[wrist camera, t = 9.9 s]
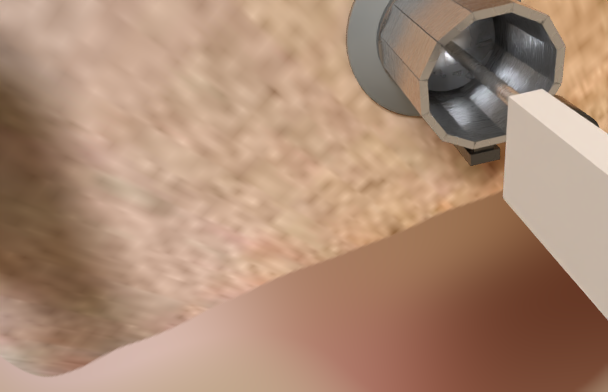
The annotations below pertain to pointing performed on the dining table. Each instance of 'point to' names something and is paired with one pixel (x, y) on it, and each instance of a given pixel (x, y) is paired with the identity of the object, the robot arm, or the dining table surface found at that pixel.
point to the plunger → (475, 64)
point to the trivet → (373, 57)
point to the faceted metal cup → (473, 95)
